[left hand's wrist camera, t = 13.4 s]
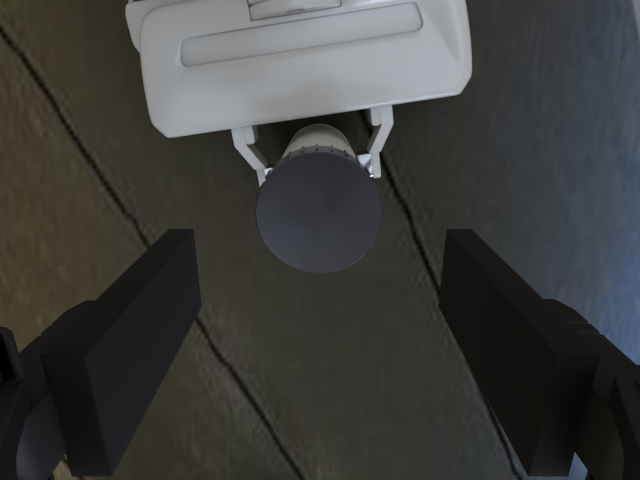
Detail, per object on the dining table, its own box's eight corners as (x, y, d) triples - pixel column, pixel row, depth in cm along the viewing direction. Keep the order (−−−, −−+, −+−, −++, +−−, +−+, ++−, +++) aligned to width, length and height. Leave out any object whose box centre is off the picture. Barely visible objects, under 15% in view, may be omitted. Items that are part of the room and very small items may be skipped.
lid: (402, 199, 22) (411, 210, 20) (323, 279, 23) (323, 298, 21) (314, 117, 20) (313, 120, 18) (236, 208, 22) (227, 221, 20)
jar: (365, 154, 35) (400, 208, 20) (321, 202, 37) (323, 286, 21) (316, 109, 34) (313, 129, 19) (273, 160, 35) (237, 217, 20)
